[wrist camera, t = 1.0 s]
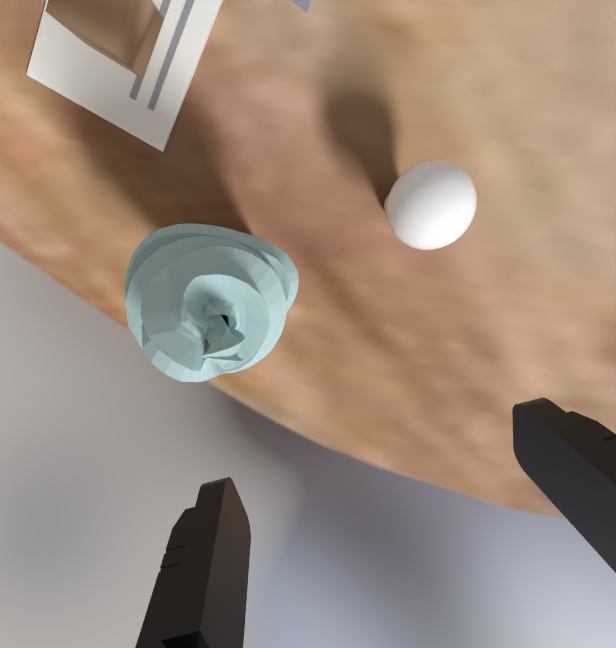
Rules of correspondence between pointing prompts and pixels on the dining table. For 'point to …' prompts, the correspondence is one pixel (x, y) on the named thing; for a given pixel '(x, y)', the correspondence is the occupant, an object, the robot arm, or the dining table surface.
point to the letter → (118, 82)
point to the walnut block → (113, 28)
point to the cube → (303, 4)
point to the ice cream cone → (207, 299)
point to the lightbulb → (431, 204)
